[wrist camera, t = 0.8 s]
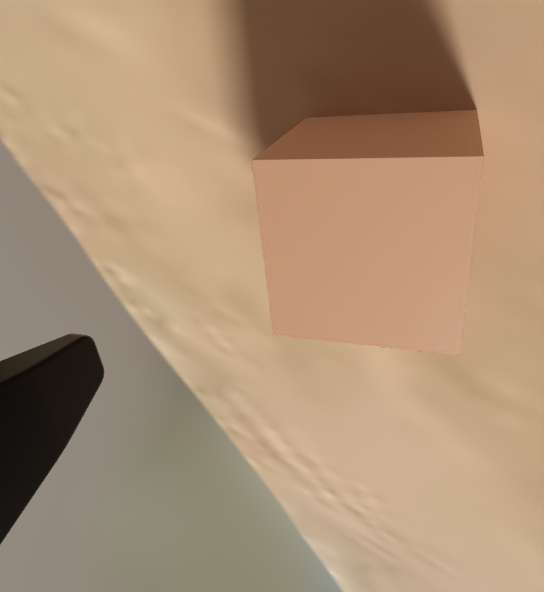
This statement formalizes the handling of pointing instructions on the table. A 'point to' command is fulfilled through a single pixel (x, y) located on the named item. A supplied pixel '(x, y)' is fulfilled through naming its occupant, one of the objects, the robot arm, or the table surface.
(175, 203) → the table surface
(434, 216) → the light brown cube
